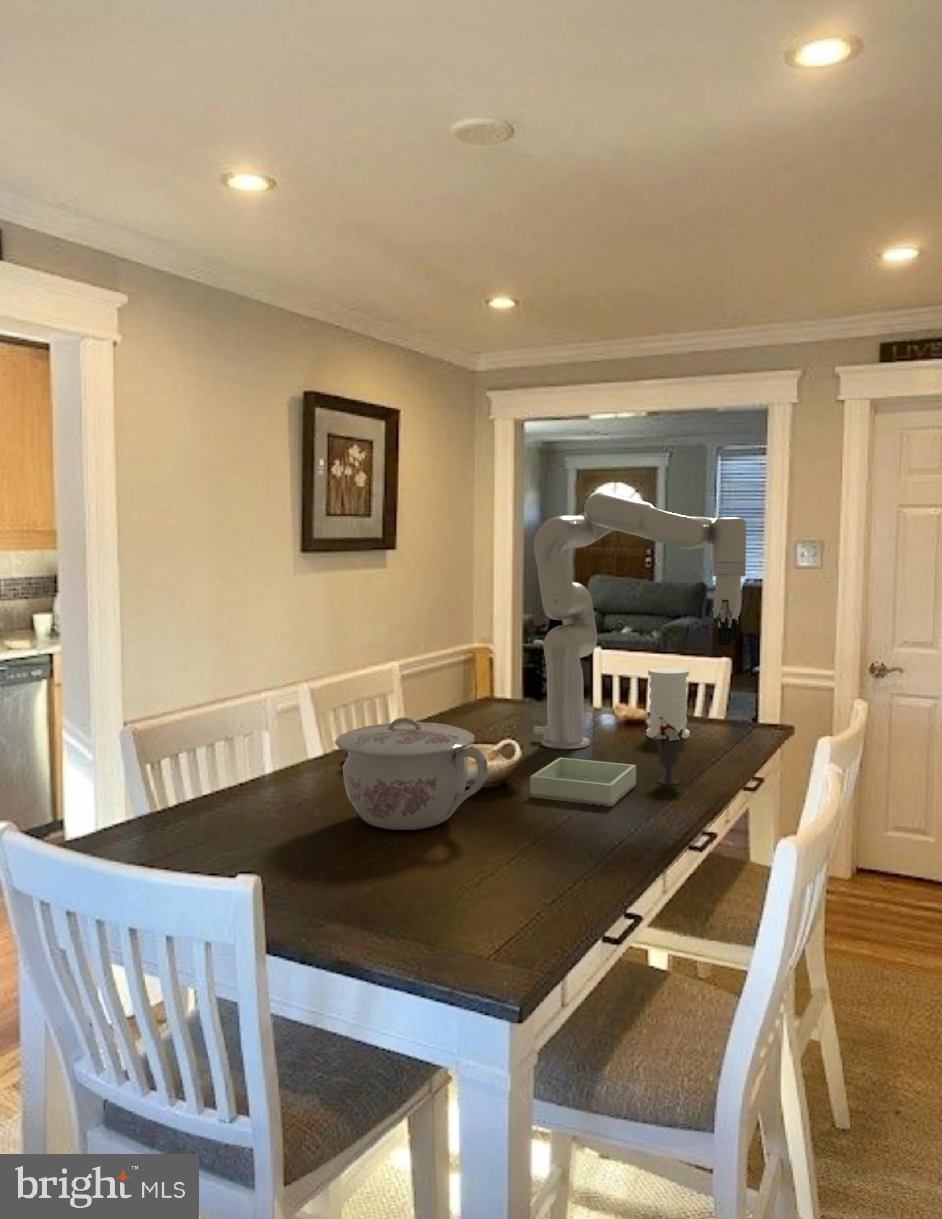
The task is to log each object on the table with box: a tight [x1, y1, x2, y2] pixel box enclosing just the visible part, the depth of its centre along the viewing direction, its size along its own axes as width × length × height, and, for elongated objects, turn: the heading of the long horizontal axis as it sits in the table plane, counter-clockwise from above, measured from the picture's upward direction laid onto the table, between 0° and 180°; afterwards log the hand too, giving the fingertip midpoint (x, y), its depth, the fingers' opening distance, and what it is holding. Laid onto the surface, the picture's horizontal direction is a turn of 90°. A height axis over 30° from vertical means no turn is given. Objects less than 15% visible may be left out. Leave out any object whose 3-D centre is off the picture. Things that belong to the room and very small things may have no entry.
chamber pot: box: [334, 717, 489, 831], centre depth 189 cm, size 28×28×21 cm
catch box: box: [529, 757, 637, 807], centre depth 209 cm, size 18×18×4 cm
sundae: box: [653, 717, 685, 786], centre depth 215 cm, size 7×7×15 cm
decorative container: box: [646, 666, 691, 740], centre depth 262 cm, size 12×12×18 cm
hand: (728, 642), depth 228 cm, fingers open, 9 cm apart
